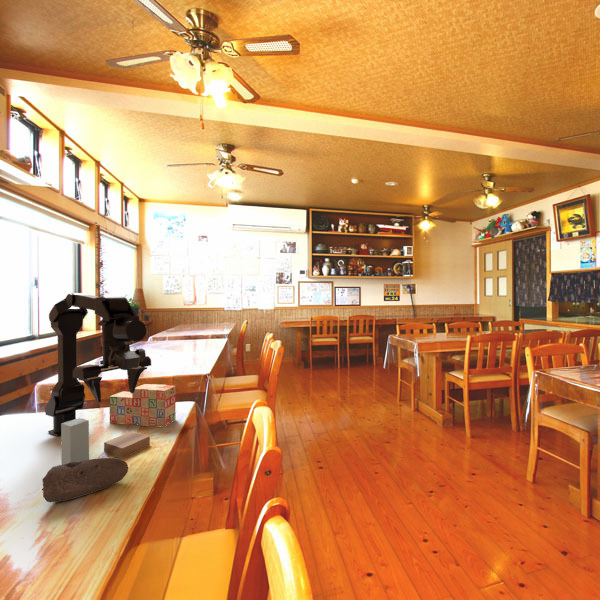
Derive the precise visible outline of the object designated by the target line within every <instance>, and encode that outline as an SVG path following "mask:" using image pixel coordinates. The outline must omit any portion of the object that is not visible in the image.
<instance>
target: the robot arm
mask: <svg viewBox="0 0 600 600" xmlns="http://www.w3.org/2000/svg"><path fill="white" fill-rule="evenodd" d="M88 310H89V311H90V310H91V311H94V314H95V315H96V316H98V317H100V318H101V320H100V321H99V322H98V323H97V326H98V327H100V326H101V339H102V340H101V342H102V343H101V344H102V345H99V350H101V351H102V360H99V362H100V363H99V364H85V365H78V356H77V355H78V348H77V347H78V346H77V345H78V343H77V334H78V333H79V332H80V330H81V329H82V328H83V325H84V323H83V322H84V319H85V318H86V316H87V315H88V313H89V312H88ZM48 319H49V322H50V328H51V329H52V330H53V332H54V333H55V334H56V335H57V382H56V383H55V385H54V386H53V388H52V389H51V392H50V394H51V396H50V398H49V400H48V402H47V404H45V407H44V413H45V415H46V416H48V417H52V418H53V419H52V420H53V421H52V422H53V425H52V426H53V427H52V429H51V430H50V429H49V430H48V431H47V433H48V432H49V434H50V433H52V434H51V435H53V434H54V436H57V437H61V423H65V422H68V421H71V420H74V419H77V418H76V416H77V415H76V413H77V412H76V411H78V410H83V408H84V406H85V404H84V403H85V400H86V393H85V385H86V387H87V388H88V390H89V391H90V392H91V394H92V396H93V398H94V400H95V402H96V403H99V404H100V403H101V400H102V394H101V381H102V379H103V377H102V376H100V375H101V374H102V373H106V372H110V371H115V370H119V369H120V371H121V370H122V371H126V372H127V380H128V388H129V392H130V393H134V391H135V388H136V387H137V384H138V382H139V378H140V376H141V374H143V372H144V371H146V370H147V369H148V367H151V366H152V359H151V357H150V356H147V355H146V350H145V349H144V348H137V349H135V350H131V347H130V344H129V343H127V342H139V341H142V340H143V339H144V338H145V337H146V335H147V332H148V331H147V326H146V324H145V323H144V322H143V321H141V320H140V316H139V315H137V314H136V313H135V311H134V310H133V308H132V306H131V304H130V302H129V301H128V298H127V297H126V296H97V295H91V294H87V293H85V292H82V293H81V292H71V293H68V294H67V295H66V297H65V298H64V299H62V300H61V301H58V302H57V303H55V304H54V305H53V306H52V308H51V310H50V311H49V314H48ZM80 381H82V382H84V384H85V385H84V384H83V383H81V382H80Z"/></svg>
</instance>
